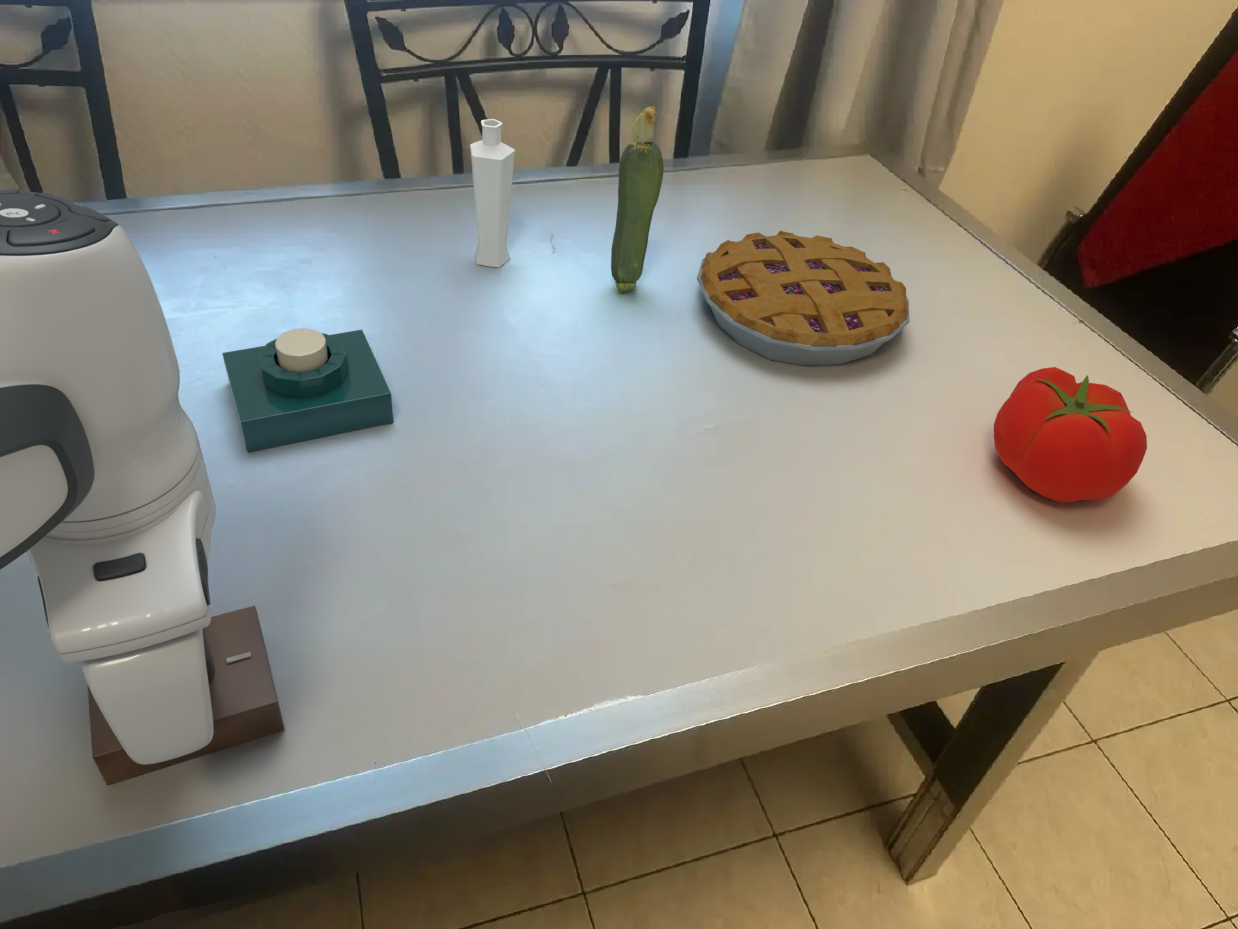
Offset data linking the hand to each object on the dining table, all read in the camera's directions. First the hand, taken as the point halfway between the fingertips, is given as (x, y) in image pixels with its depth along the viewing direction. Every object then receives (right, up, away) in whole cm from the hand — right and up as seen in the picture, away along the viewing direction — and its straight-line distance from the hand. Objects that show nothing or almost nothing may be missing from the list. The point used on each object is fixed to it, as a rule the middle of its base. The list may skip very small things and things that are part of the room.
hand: (176, 668), depth 57 cm
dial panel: (0, -3, +2) cm, 4 cm away
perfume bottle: (+12, +34, +47) cm, 59 cm away
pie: (+45, +28, +44) cm, 69 cm away
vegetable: (+27, +31, +45) cm, 61 cm away
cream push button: (0, +21, +23) cm, 31 cm away
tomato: (+65, +11, +27) cm, 71 cm away
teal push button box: (0, +18, +26) cm, 31 cm away
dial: (0, 0, 0) cm, 1 cm away
